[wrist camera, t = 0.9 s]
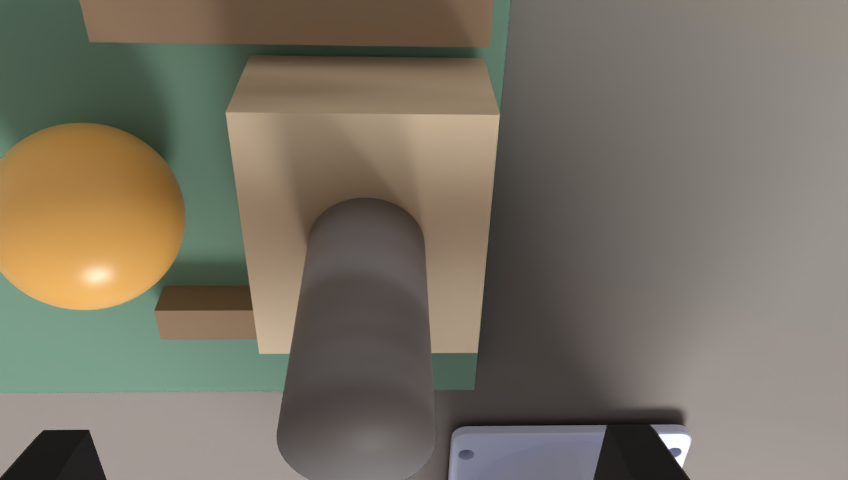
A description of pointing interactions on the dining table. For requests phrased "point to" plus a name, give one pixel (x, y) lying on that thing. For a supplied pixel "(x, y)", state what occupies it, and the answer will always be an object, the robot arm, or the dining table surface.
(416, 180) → the beige block
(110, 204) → the ball
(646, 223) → the dining table surface
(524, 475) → the robot arm
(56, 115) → the pitch
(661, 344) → the dining table surface
